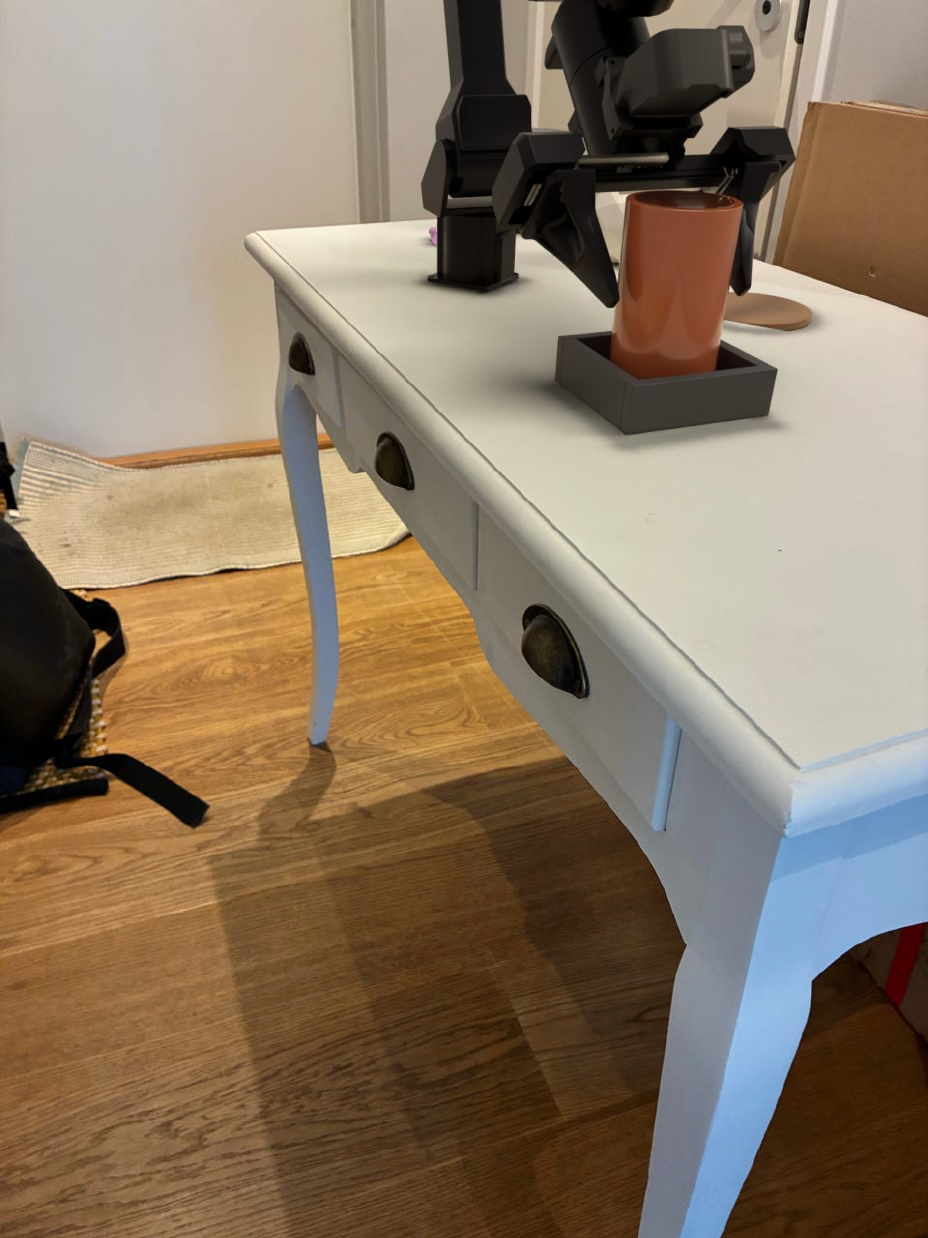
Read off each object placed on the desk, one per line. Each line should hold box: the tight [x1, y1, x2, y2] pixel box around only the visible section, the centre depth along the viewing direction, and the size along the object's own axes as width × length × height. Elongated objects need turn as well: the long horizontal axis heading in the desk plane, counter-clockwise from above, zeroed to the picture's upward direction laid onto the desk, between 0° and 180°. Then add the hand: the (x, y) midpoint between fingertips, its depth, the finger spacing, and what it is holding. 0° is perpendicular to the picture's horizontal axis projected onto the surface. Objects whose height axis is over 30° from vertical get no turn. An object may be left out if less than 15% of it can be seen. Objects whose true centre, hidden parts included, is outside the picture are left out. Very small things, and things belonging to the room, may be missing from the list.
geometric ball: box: [595, 192, 630, 264], centre depth 94 cm, size 8×8×8 cm
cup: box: [609, 190, 743, 380], centre depth 59 cm, size 7×7×12 cm
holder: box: [554, 330, 779, 436], centre depth 61 cm, size 10×10×4 cm
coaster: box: [724, 291, 813, 332], centre depth 81 cm, size 10×10×1 cm
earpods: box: [428, 226, 437, 246], centre depth 102 cm, size 3×2×2 cm
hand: (681, 298), depth 57 cm, fingers open, 9 cm apart
